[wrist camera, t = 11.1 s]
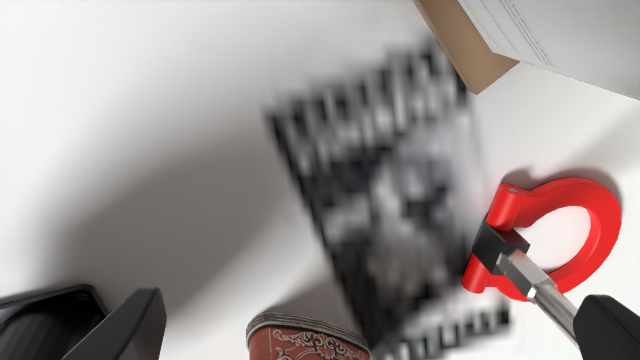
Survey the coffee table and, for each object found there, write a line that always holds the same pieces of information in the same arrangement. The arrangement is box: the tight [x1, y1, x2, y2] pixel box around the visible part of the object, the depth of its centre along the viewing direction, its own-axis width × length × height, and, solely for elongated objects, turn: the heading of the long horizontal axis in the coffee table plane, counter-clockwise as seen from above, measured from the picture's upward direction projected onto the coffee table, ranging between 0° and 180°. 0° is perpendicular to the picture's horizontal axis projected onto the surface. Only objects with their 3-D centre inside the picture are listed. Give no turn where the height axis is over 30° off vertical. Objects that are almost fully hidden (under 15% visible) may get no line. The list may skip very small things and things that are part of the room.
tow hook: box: [461, 177, 621, 351], centre depth 21 cm, size 8×13×9 cm
